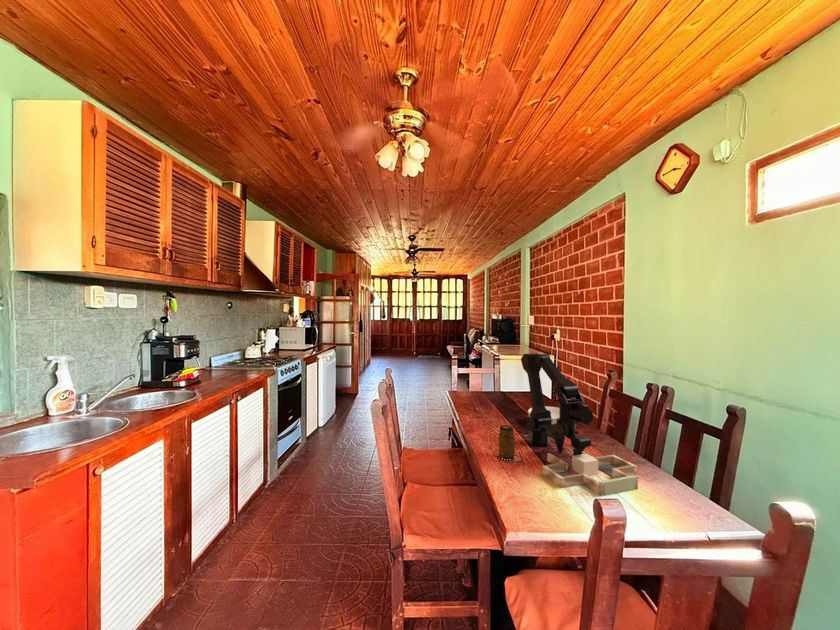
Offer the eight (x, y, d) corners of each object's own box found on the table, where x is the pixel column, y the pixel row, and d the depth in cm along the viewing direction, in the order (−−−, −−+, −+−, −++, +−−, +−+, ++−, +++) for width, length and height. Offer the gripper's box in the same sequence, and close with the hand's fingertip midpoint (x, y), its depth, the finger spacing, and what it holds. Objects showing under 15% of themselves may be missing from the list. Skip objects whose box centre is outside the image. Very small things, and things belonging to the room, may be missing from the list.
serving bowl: (523, 419, 192) (523, 406, 192) (563, 419, 191) (563, 406, 191) (534, 432, 171) (534, 417, 171) (579, 432, 170) (579, 418, 170)
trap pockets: (542, 474, 127) (542, 465, 127) (613, 462, 137) (613, 454, 136) (561, 488, 117) (561, 478, 117) (637, 474, 127) (637, 465, 127)
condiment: (509, 452, 147) (509, 423, 147) (521, 460, 139) (521, 429, 139) (493, 454, 145) (493, 425, 145) (505, 463, 137) (505, 431, 137)
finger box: (547, 461, 138) (547, 450, 138) (578, 456, 142) (578, 446, 142) (601, 495, 112) (601, 483, 112) (637, 488, 116) (637, 476, 116)
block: (572, 469, 131) (572, 455, 131) (586, 467, 133) (586, 453, 133) (584, 476, 125) (584, 462, 125) (598, 474, 127) (598, 460, 127)
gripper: (534, 412, 144) (535, 450, 144) (566, 426, 126) (566, 470, 126) (558, 409, 147) (558, 447, 148) (592, 423, 130) (592, 466, 130)
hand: (567, 457), depth 138 cm, fingers open, 8 cm apart
